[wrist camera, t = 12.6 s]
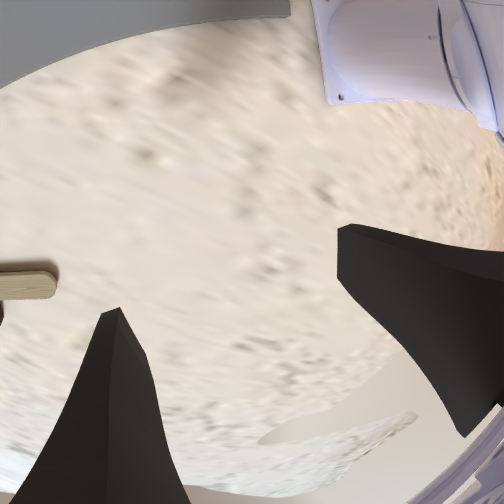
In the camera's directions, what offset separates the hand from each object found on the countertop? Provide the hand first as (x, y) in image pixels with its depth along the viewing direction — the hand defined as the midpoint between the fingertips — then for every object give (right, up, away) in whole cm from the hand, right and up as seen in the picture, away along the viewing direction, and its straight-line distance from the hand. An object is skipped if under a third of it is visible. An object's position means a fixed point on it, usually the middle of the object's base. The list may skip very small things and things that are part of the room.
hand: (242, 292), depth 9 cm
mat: (-9, +19, -3) cm, 21 cm away
